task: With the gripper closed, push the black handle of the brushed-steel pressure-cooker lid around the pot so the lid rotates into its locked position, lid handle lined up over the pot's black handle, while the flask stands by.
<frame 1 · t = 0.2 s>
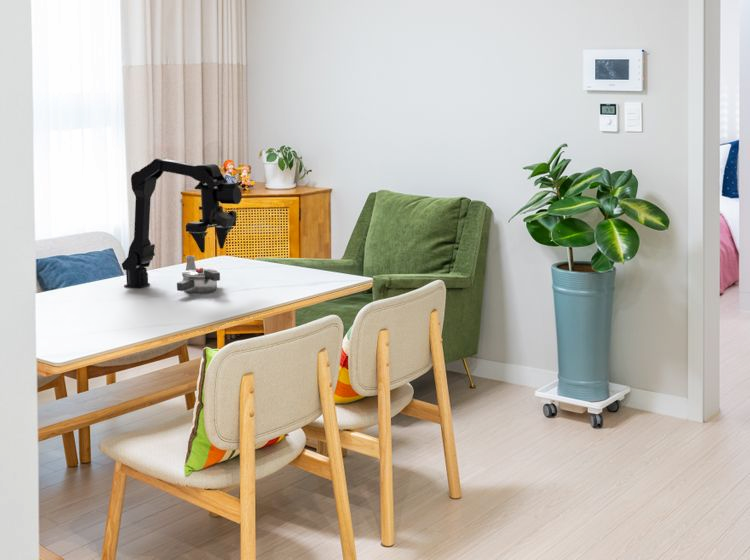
hand: (212, 250, 313), 14 cm above the table, fingers open, 9 cm apart
lid: (204, 272, 316), point 7 cm above the table, hinge at 60.0°
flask: (191, 285, 329), on the table
pot: (200, 290, 319), on the table
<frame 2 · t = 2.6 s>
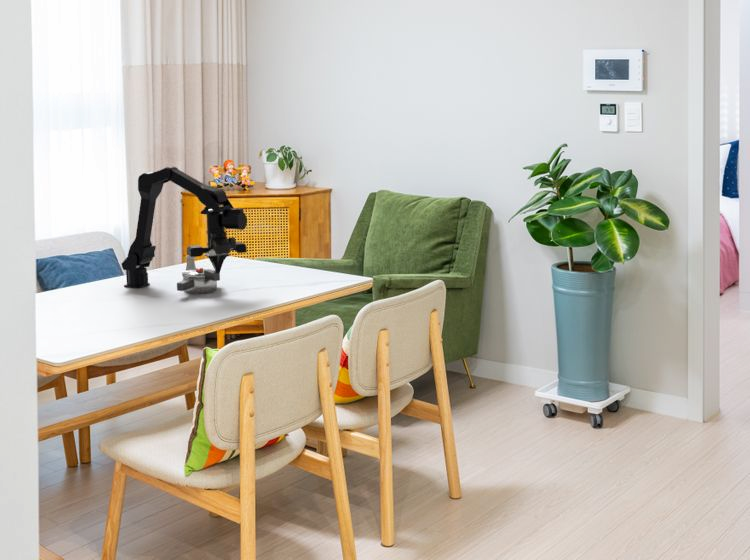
hand: (217, 275, 312), 6 cm above the table, fingers closed
lid: (204, 272, 316), point 7 cm above the table, hinge at 59.9°, touching gripper
everything else where it was.
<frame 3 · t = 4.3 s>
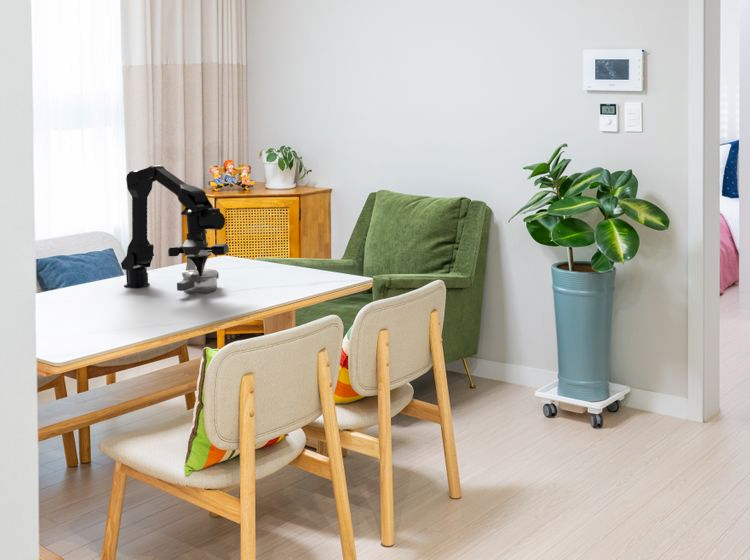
hand: (200, 276, 309), 7 cm above the table, fingers closed
lid: (198, 273, 315), point 7 cm above the table, hinge at 23.9°, touching gripper
everything else where it was.
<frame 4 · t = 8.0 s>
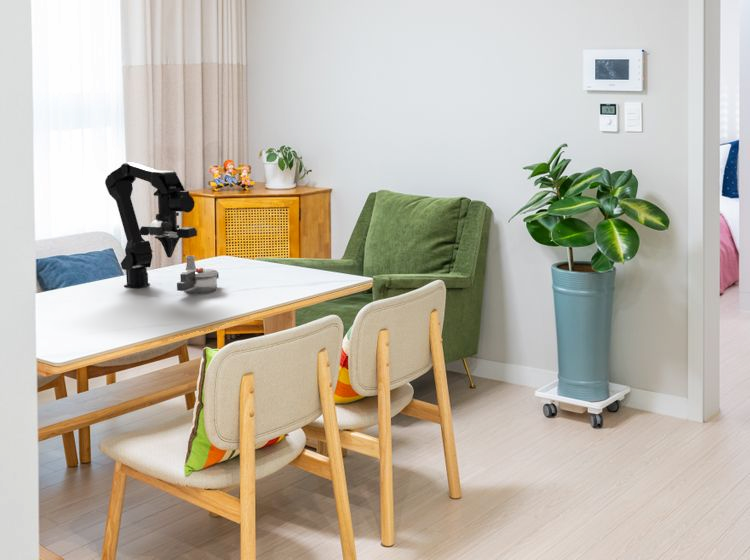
hand: (169, 257, 313), 12 cm above the table, fingers closed
lid: (195, 273, 315), point 7 cm above the table, hinge at 6.7°
everything else where it was.
at the end: lid at +7° (first picture: +60°) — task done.
